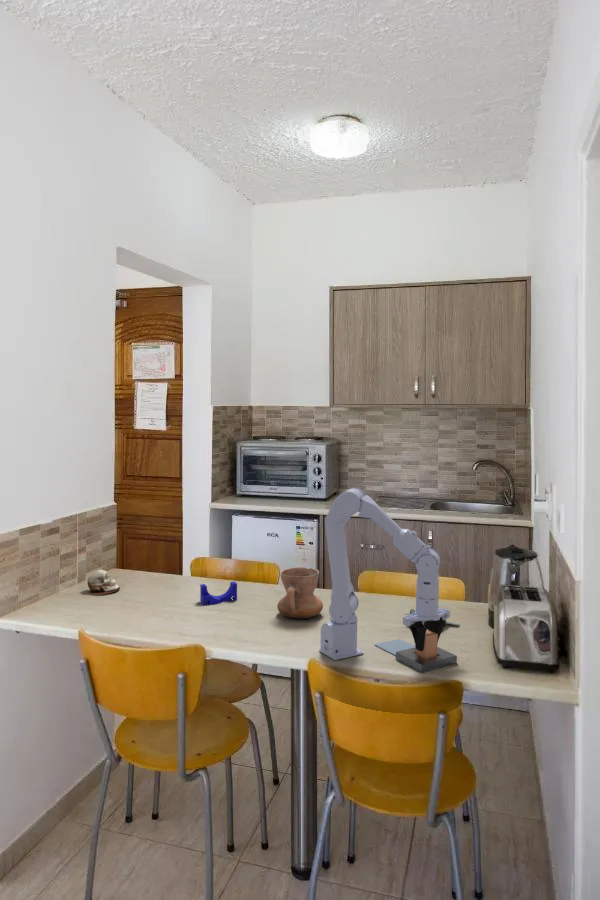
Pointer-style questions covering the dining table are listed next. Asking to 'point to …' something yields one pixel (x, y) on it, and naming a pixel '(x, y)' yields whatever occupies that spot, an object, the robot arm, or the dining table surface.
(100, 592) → the skull
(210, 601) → the blue curved cradle
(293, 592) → the ceramic jug
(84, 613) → the dining table surface
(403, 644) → the rubber mat
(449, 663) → the socket plate
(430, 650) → the square peg
